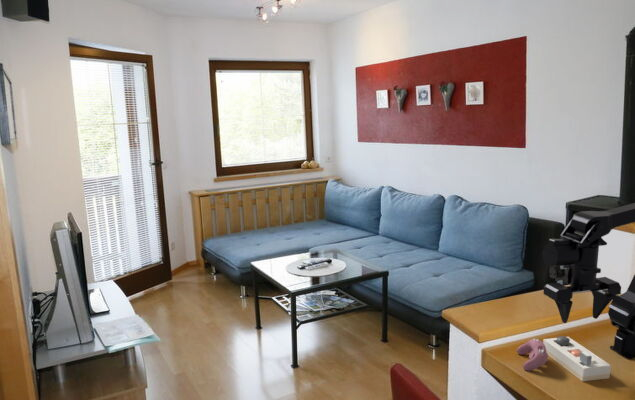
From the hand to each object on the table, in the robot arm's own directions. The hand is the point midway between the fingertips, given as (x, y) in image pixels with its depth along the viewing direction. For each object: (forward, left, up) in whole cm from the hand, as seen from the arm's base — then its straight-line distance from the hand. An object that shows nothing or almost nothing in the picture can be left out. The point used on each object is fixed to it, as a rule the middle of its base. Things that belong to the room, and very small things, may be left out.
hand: (579, 320), depth 130 cm
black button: (+2, -3, -8) cm, 9 cm away
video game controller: (+12, -1, -11) cm, 17 cm away
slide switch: (+4, +8, -9) cm, 13 cm away
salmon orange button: (+2, +3, -9) cm, 10 cm away
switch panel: (+2, +2, -11) cm, 11 cm away
